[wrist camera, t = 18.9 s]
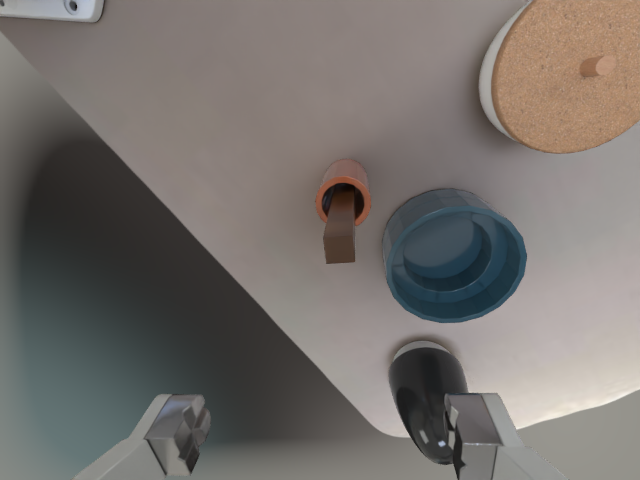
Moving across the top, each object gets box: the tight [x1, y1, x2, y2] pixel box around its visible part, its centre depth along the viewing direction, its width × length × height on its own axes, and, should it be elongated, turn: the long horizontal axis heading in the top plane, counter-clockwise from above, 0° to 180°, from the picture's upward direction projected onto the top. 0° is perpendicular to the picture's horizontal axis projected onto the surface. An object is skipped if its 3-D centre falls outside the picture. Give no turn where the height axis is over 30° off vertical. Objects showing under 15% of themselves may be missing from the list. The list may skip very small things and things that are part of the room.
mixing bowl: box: [382, 189, 527, 323], centre depth 37 cm, size 14×14×7 cm
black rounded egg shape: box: [389, 341, 469, 465], centre depth 41 cm, size 10×10×15 cm
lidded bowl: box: [479, 0, 640, 154], centre depth 27 cm, size 13×13×11 cm
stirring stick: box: [323, 183, 355, 264], centre depth 29 cm, size 2×2×18 cm
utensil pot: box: [315, 159, 371, 226], centre depth 34 cm, size 5×5×9 cm
